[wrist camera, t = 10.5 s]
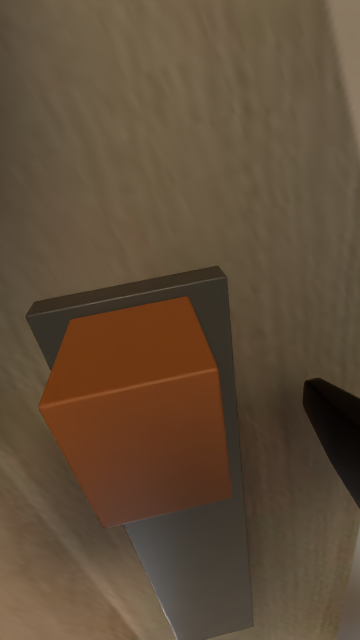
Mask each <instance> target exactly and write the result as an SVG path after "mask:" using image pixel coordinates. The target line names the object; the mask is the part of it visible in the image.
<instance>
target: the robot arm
mask: <svg viewBox="0 0 360 640" xmlns="http://www.w3.org/2000/svg"><path fill="white" fill-rule="evenodd" d="M303 407H304V409H305V412H306V414H307V416H308V418H309V420H310V422H311V424H312V426H313V428H314V430H315V432H316V434H317V436H318V438H319V440H320V442H321V444H322V446H323V448H324V450H325V452H326V454H327V456H328V458H329V460H330V462H331V463H332V465H333V467H334V468H335V470H336V471H337V473H338V475H339V476H340V478H341V479H342V481H343V483H344V484H345V486H346V488H347V489H348V491H349V492H350V494H351V496H352V497H353V499H354V500H355V502H356V504H357V505H358V507H359V508H360V398H358V397H356V396H354V395H352V394H350V393H348V392H346V391H344V390H342V389H341V388H339V387H337V386H335V385H333V384H331V383H329V382H327V381H325V380H323V379H321V378H314V379H310V380H306V381H305V382H304V388H303Z"/></svg>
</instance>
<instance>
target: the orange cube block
mask: <svg viewBox="0 0 360 640" xmlns="http://www.w3.org/2000/svg"><path fill="white" fill-rule="evenodd" d="M39 410H40V412H41V414H42V416H43V418H44V420H45V422H46V423H47V425H48V427H49V429H50V431H51V433H52V434H53V436H54V438H55V440H56V442H57V444H58V446H59V447H60V449H61V451H62V453H63V455H64V457H65V458H66V460H67V462H68V464H69V466H70V468H71V470H72V471H73V473H74V475H75V477H76V479H77V481H78V482H79V484H80V486H81V488H82V490H83V492H84V494H85V495H86V497H87V499H88V501H89V503H90V505H91V506H92V508H93V510H94V512H95V514H96V516H97V518H98V519H99V521H100V523H101V525H102V527H103V528H108V527H113V526H117V525H121V524H125V523H129V522H133V521H138V520H142V519H146V518H150V517H154V516H158V515H163V514H167V513H171V512H175V511H179V510H183V509H188V508H192V507H196V506H200V505H204V504H208V503H213V502H217V501H221V500H225V499H229V498H231V497H232V485H231V476H230V467H229V458H228V449H227V440H226V431H225V422H224V413H223V404H222V395H221V386H220V377H219V369H218V366H217V364H216V361H215V359H214V356H213V354H212V352H211V349H210V347H209V344H208V342H207V340H206V337H205V335H204V332H203V330H202V328H201V325H200V323H199V320H198V318H197V316H196V313H195V311H194V308H193V306H192V304H191V301H190V299H189V297H188V296H185V297H180V298H175V299H170V300H165V301H160V302H155V303H150V304H145V305H140V306H135V307H130V308H125V309H120V310H115V311H110V312H105V313H100V314H95V315H90V316H85V317H80V318H75V319H72V320H70V321H69V324H68V327H67V330H66V332H65V335H64V338H63V341H62V343H61V346H60V349H59V351H58V354H57V357H56V360H55V362H54V365H53V368H52V371H51V373H50V376H49V379H48V381H47V384H46V387H45V390H44V392H43V395H42V398H41V400H40V403H39Z"/></svg>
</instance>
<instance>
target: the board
mask: <svg viewBox="0 0 360 640" xmlns="http://www.w3.org/2000/svg"><path fill="white" fill-rule="evenodd" d="M185 296H188V297H189V299H190V301H191V304H192V306H193V308H194V311H195V313H196V316H197V318H198V320H199V323H200V325H201V328H202V330H203V332H204V335H205V337H206V340H207V342H208V344H209V347H210V349H211V352H212V354H213V356H214V359H215V361H216V364H217V366H218V369H219V377H220V386H221V395H222V404H223V413H224V422H225V431H226V440H227V449H228V458H229V467H230V476H231V485H232V497H231V498H229V499H225V500H221V501H217V502H213V503H208V504H204V505H200V506H196V507H192V508H188V509H183V510H179V511H175V512H171V513H167V514H163V515H158V516H154V517H150V518H146V519H142V520H138V521H133V522H129V523H125V524H123V525H124V527H125V530H126V532H127V534H128V536H129V538H130V540H131V542H132V544H133V547H134V549H135V551H136V553H137V555H138V557H139V559H140V561H141V564H142V566H143V568H144V570H145V572H146V574H147V576H148V579H149V581H150V583H151V585H152V587H153V589H154V591H155V593H156V596H157V598H158V600H159V602H160V604H161V606H162V608H163V610H164V613H165V615H166V617H167V619H168V621H169V623H170V625H171V627H172V630H173V632H174V634H175V636H176V638H177V640H205V639H208V638H212V637H216V636H220V635H224V634H227V633H231V632H235V631H239V630H243V629H246V628H250V627H253V626H254V625H253V612H252V599H251V586H250V573H249V560H248V547H247V534H246V521H245V508H244V495H243V482H242V469H241V456H240V443H239V430H238V417H237V404H236V391H235V378H234V365H233V352H232V339H231V326H230V313H229V300H228V287H227V277H226V275H225V274H224V273H223V271H222V270H221V269H220V268H219V266H215V267H210V268H205V269H200V270H195V271H190V272H185V273H179V274H174V275H169V276H164V277H159V278H154V279H149V280H144V281H139V282H134V283H129V284H123V285H118V286H113V287H108V288H103V289H98V290H93V291H88V292H83V293H78V294H73V295H68V296H62V297H57V298H52V299H47V300H42V301H37V302H34V304H33V305H32V307H31V308H30V310H29V311H28V313H27V314H26V319H27V321H28V323H29V325H30V327H31V330H32V332H33V334H34V336H35V338H36V340H37V342H38V344H39V347H40V349H41V351H42V353H43V355H44V357H45V359H46V362H47V364H48V366H49V368H50V370H51V371H52V368H53V365H54V362H55V360H56V357H57V354H58V351H59V349H60V346H61V343H62V341H63V338H64V335H65V332H66V330H67V327H68V324H69V321H70V320H72V319H75V318H80V317H85V316H90V315H95V314H100V313H105V312H110V311H115V310H120V309H125V308H130V307H135V306H140V305H145V304H150V303H155V302H160V301H165V300H170V299H175V298H180V297H185Z"/></svg>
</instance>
